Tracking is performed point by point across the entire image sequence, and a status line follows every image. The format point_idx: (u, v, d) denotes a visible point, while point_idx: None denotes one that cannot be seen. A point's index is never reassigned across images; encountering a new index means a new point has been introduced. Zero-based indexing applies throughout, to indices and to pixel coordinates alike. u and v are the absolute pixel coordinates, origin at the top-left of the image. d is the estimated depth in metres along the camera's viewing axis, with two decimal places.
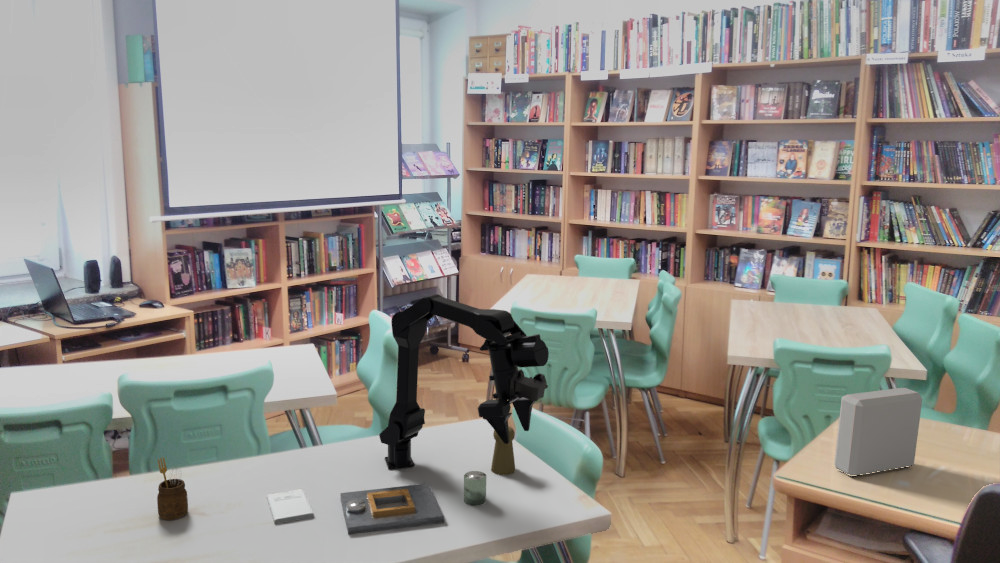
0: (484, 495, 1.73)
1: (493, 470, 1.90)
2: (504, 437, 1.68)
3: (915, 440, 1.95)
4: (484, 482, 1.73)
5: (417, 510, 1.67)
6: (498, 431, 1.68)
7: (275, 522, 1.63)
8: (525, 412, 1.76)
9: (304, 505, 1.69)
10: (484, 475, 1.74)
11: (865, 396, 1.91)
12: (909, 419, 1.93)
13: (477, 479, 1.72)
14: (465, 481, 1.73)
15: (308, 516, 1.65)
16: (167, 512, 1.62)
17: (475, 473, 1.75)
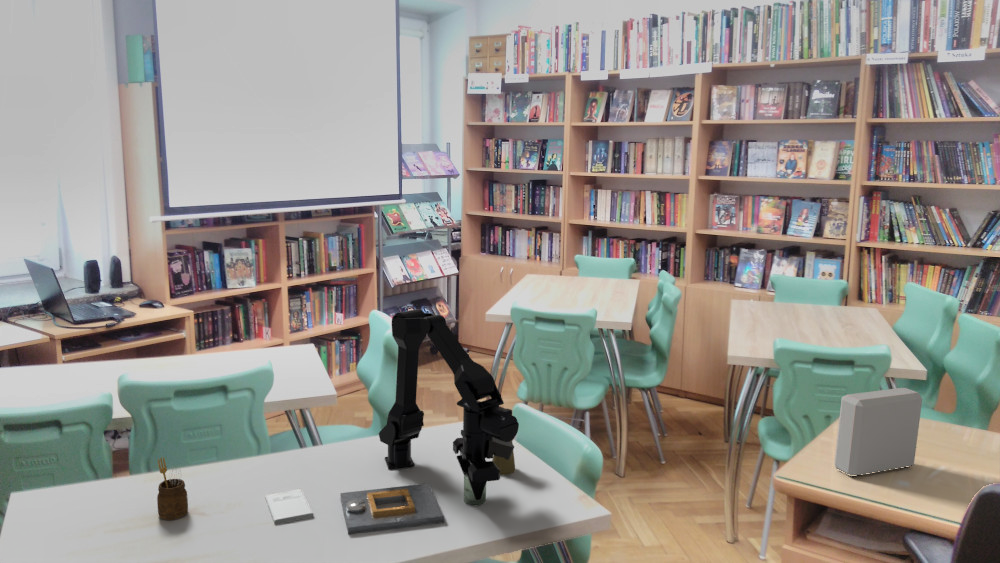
0: (484, 495, 1.73)
1: None
2: (479, 494, 1.71)
3: (915, 440, 1.95)
4: None
5: (417, 510, 1.67)
6: (475, 489, 1.70)
7: (275, 522, 1.63)
8: None
9: (303, 505, 1.69)
10: None
11: (865, 396, 1.91)
12: (909, 419, 1.93)
13: None
14: (465, 481, 1.73)
15: (308, 516, 1.65)
16: (167, 512, 1.62)
17: None
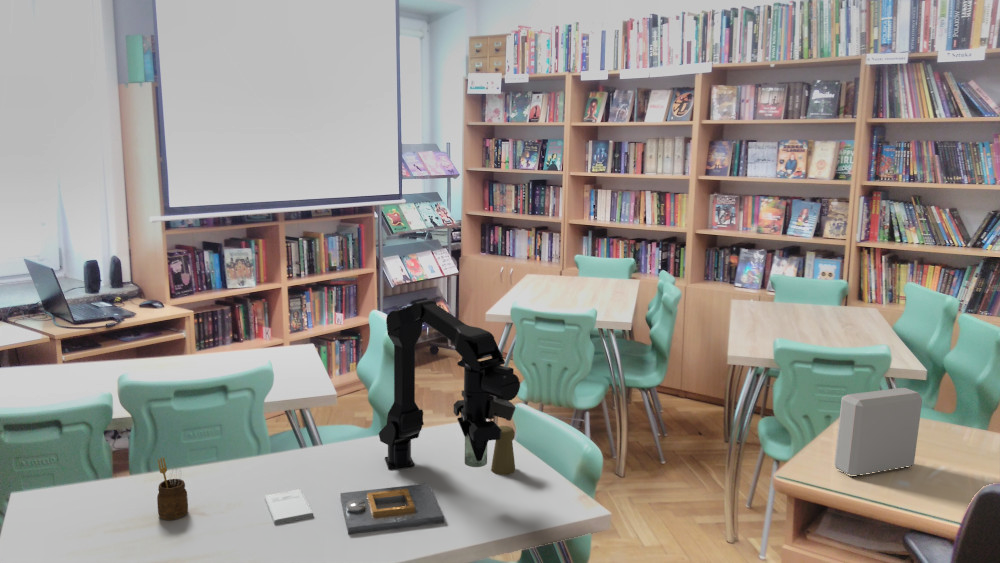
0: (485, 456, 1.72)
1: (493, 470, 1.90)
2: (480, 455, 1.70)
3: (915, 440, 1.95)
4: None
5: (417, 510, 1.67)
6: (476, 449, 1.68)
7: (275, 522, 1.63)
8: None
9: (303, 505, 1.69)
10: None
11: (865, 396, 1.91)
12: (909, 419, 1.93)
13: None
14: (466, 442, 1.71)
15: (308, 516, 1.65)
16: (167, 512, 1.62)
17: None
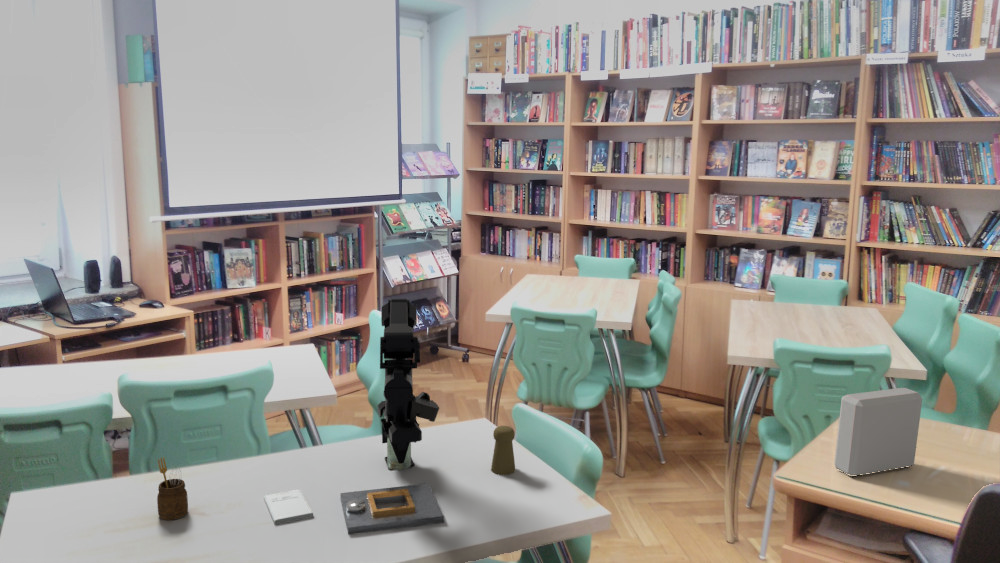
0: (408, 458, 1.66)
1: (493, 470, 1.90)
2: (402, 457, 1.64)
3: (915, 440, 1.95)
4: None
5: (417, 510, 1.67)
6: (397, 451, 1.63)
7: (275, 523, 1.62)
8: None
9: (302, 505, 1.69)
10: None
11: (865, 396, 1.91)
12: (909, 419, 1.93)
13: None
14: (388, 444, 1.66)
15: (308, 516, 1.66)
16: (167, 512, 1.62)
17: None
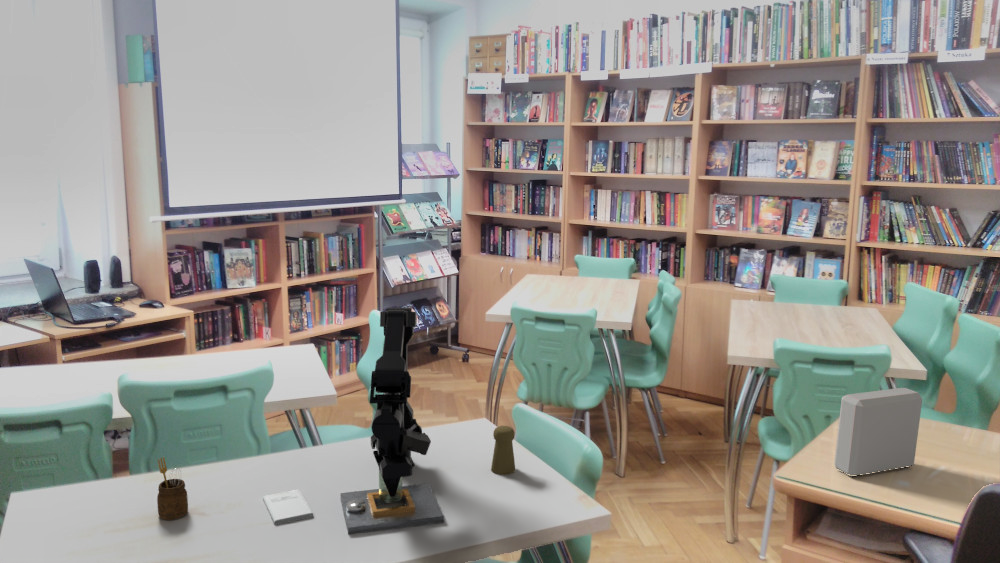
0: (399, 491, 1.67)
1: (493, 470, 1.90)
2: (393, 490, 1.65)
3: (915, 440, 1.95)
4: None
5: (417, 510, 1.67)
6: (388, 485, 1.64)
7: (275, 523, 1.62)
8: None
9: (302, 505, 1.69)
10: None
11: (865, 396, 1.91)
12: (909, 419, 1.93)
13: None
14: (379, 477, 1.67)
15: (308, 516, 1.66)
16: (167, 512, 1.62)
17: None
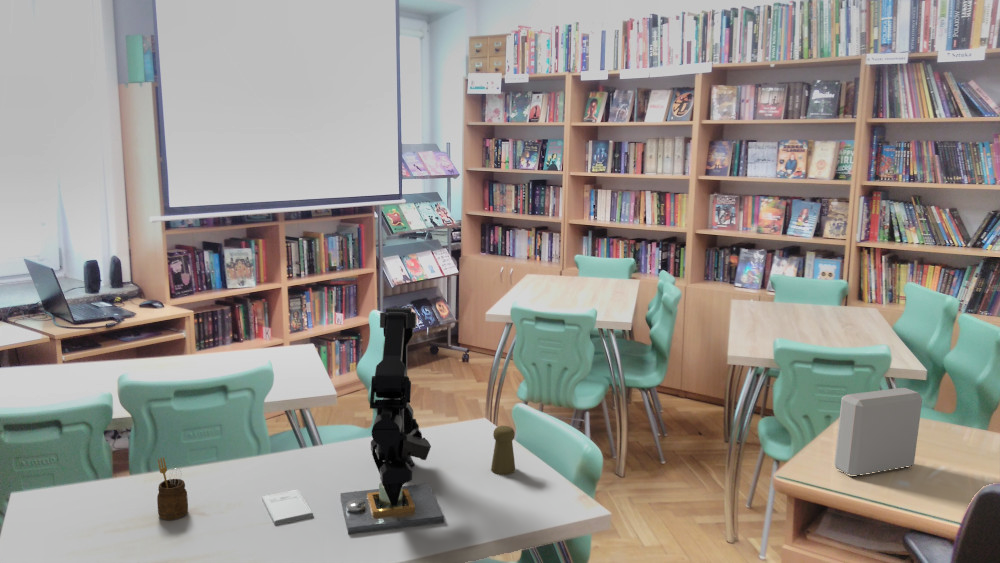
0: (399, 505, 1.68)
1: (493, 470, 1.90)
2: (394, 499, 1.64)
3: (915, 440, 1.95)
4: None
5: (417, 510, 1.67)
6: (390, 494, 1.63)
7: (275, 523, 1.62)
8: None
9: (302, 505, 1.69)
10: None
11: (865, 396, 1.91)
12: (909, 419, 1.93)
13: None
14: (380, 490, 1.67)
15: (307, 516, 1.66)
16: (167, 512, 1.62)
17: None
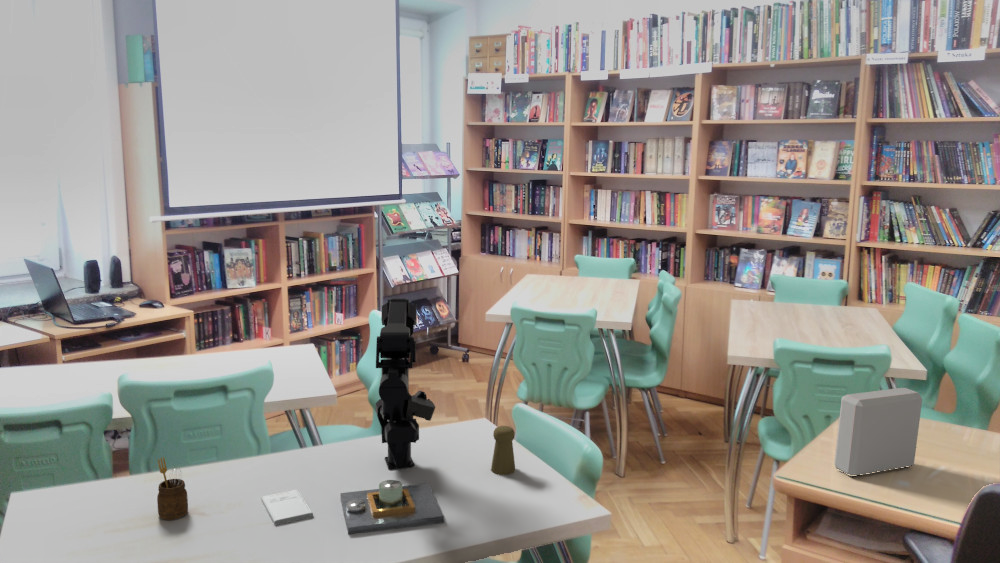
0: (400, 505, 1.68)
1: (493, 470, 1.90)
2: (399, 459, 1.64)
3: (915, 440, 1.95)
4: (399, 492, 1.67)
5: (417, 510, 1.67)
6: (394, 453, 1.63)
7: (275, 523, 1.62)
8: None
9: (301, 505, 1.69)
10: (400, 484, 1.69)
11: (865, 396, 1.91)
12: (909, 419, 1.93)
13: (391, 489, 1.66)
14: (380, 490, 1.67)
15: (307, 516, 1.66)
16: (167, 512, 1.62)
17: (391, 482, 1.69)
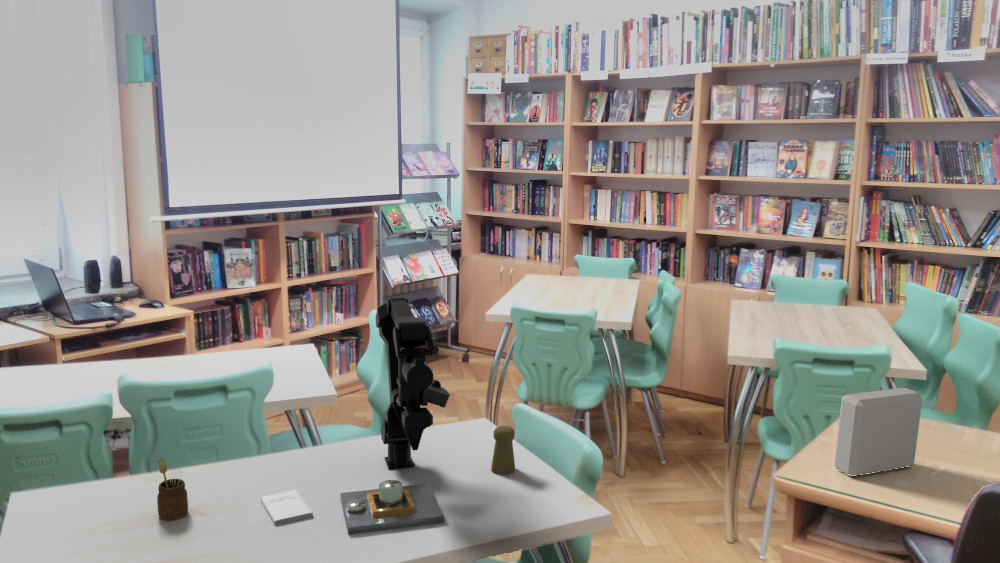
0: (400, 505, 1.68)
1: (493, 470, 1.90)
2: (415, 444, 1.71)
3: (915, 440, 1.95)
4: (399, 491, 1.67)
5: (417, 510, 1.67)
6: (411, 439, 1.70)
7: (275, 523, 1.62)
8: None
9: (301, 505, 1.69)
10: (400, 484, 1.69)
11: (865, 396, 1.91)
12: (909, 419, 1.93)
13: (391, 489, 1.66)
14: (380, 490, 1.67)
15: (307, 516, 1.66)
16: (167, 512, 1.62)
17: (391, 482, 1.69)
